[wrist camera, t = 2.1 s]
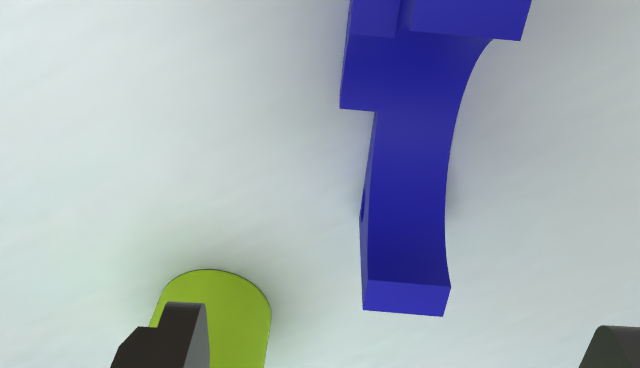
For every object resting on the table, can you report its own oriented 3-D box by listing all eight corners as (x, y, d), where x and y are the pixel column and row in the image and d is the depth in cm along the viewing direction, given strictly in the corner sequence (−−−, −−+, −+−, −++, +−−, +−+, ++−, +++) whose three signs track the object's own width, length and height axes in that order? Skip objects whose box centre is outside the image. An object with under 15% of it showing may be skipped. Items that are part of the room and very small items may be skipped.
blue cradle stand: (356, -68, 19) (361, -33, 14) (485, -56, 19) (536, -17, 14) (326, 213, 26) (322, 306, 21) (423, 221, 26) (442, 316, 21)
